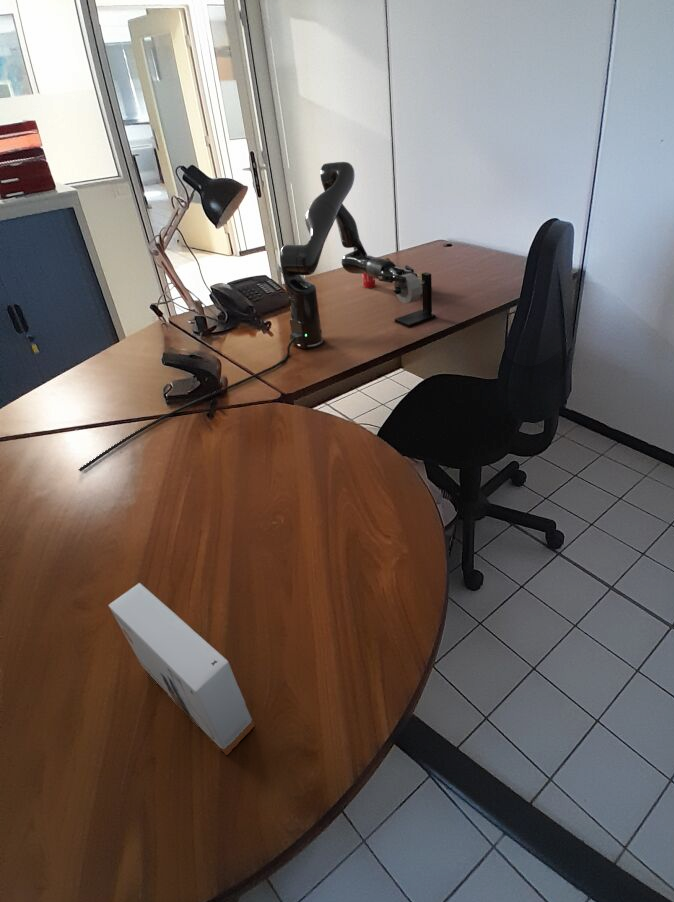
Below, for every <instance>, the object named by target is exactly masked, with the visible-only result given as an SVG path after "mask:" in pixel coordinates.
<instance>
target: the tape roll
mask: <svg viewBox="0 0 674 902" xmlns="http://www.w3.org/2000/svg"><path fill="white" fill-rule="evenodd" d="M401 276H404V277H406V283H401V282H394V281H393V286H394V287H393V288H394V289H395V288H396V287H403V286H406V285H407V288H408V290H406V291H403V292H401V293H400V294H395V295H396V298H397V299H398V300H399V301H400V303H402V304H406V305H407V304H409V303H412V302H415V301H417V300H419V299H421V296H422V290H421V284H420V281H419V279H418V278H417V277H416V276H415V274H412V273H408V274H404V275H401ZM394 289H393V290H394Z"/></svg>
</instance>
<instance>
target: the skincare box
mask: <svg viewBox="0 0 674 902" xmlns="http://www.w3.org/2000/svg"><path fill="white" fill-rule="evenodd" d="M108 607H109V609H110V611H111V613H112V614H113V616H114V618H115V620H116V622H117V623H118V625H119V627H120V629H121V631H122V632H123V634H124V636H125V638H126V641H127V642H128V643H129V645H130V647H131V648H132V651H133V652H134V654H135V657H136V658H137V660H138V662H139V663H141V664H140V665H141V667H142V666H143V667H142V669H143V668H144V669H145V670H146V671H147V672H148V673H149V674H150V676H151V677H152V678H153V679H154V680H155V681H156V682H157V683H158V684H159V685H160V686H161V687H162V688H163V689H164V690H165V691H166V692H167V693H168V695H169V696H170V697H171V698H172V699H173V700H174V701H175V702H176V703H177V704H178V705H179V706H180V707H181V708H182V709H183V710H184V711H185V712H186V713H187V714H188V715H189V716H190V717H191V718H192V719H193V720H194V721H195V723H196V724H197V725H198V726H199V727H200V728H201V729H202V730H203V731H204V732H205V733H206V734H207V735H208V736H209V737H210V738H211V739H212V740H213V741H214V742H215V743H216V744H217V745H218V746H219V747H220V748H222V749H225V748H226V747H227V746H228V745H230V744H231V743H232V742H233V741H234V740H235V739H236V737H238V736H239V734H240V733H241V732H243V730H244V729H245V728H246V727H247V726H248V725H249V724H250V723H251V721H252V720H253V717H252V716H251V714H250V712H249V709H248V707H247V705H246V700H245V699H244V696H243V693H242V691H241V689H240V687H239V685H238V683H237V679H236V677H235V675H234V673H233V670H232V667H231V664H230V662H229V661H228V660H227V658H226V657H224V656H223V655H222V654H221V653H220V652H219V651H217V650H216V649H215V648H214V647H213V646H211V645H210V644H209V642H207V641H206V639H205V638H203V637H201V635H200V634H198V633H197V632H196V631H195V630H193V628H191V626H190V625H188V624H187V623H186V622H185V621H184V620H183V619H182V618H180V617H179V616H178V615H177V614H176V613H175V612H173V610H171V609H170V608H169V607H168V606H167V605H166V604H165V603H163V602H162V601H161V600H160V599H159V598H158V597H156V595H155V594H153V593H152V592H151V591H150V590H149V589H147V588H146V587H145V586H144V584H142V583H140V582H138V583H137V584H136V585H134V586H133V587H132V588H130V589H128V590H126V591H125V592H124V593H123V594H121V595H120V596H119V597H117V598H116V599H115V600H113V601H112V602H110V603H109V604H108ZM144 669H143V670H144ZM150 676H149V677H150ZM151 677H150V678H151ZM152 678H151V679H152ZM153 679H152V680H153ZM154 680H153V681H154ZM155 681H154V682H155ZM156 682H155V683H156ZM157 683H156V684H157ZM168 695H167V696H168ZM169 696H168V697H169ZM170 697H169V698H170ZM171 698H170V699H171ZM172 699H171V700H172ZM173 700H172V701H173ZM174 701H173V702H174ZM175 702H174V703H175ZM176 703H175V704H176ZM177 704H176V705H177ZM195 723H194V724H195ZM196 724H195V725H196ZM197 725H196V726H197ZM198 726H197V727H198Z"/></svg>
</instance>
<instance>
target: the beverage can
mask: <svg viewBox="0 0 674 902" xmlns="http://www.w3.org/2000/svg"><path fill="white" fill-rule="evenodd" d="M362 284H363V287H364V288H365V289H372V288H375V286H376V278H374V277H372V276H370V275H367V274H362Z"/></svg>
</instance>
